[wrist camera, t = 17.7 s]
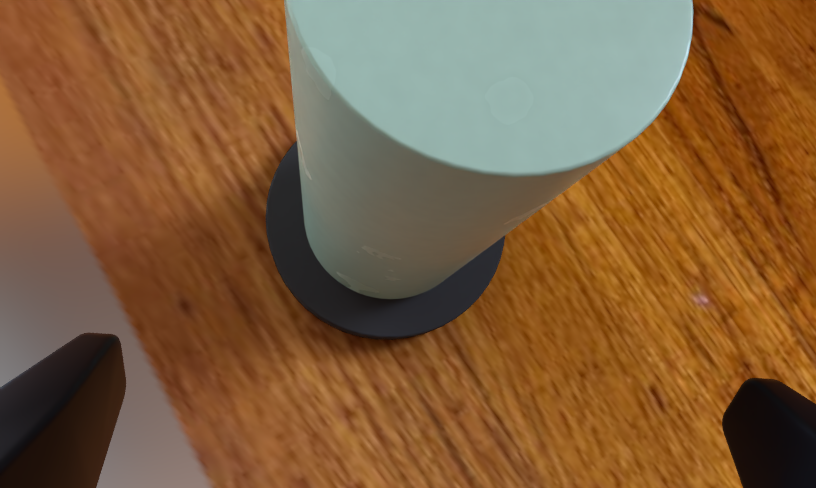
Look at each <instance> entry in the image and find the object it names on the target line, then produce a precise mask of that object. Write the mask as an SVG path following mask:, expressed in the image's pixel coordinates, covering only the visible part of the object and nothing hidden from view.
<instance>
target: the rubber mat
mask: <svg viewBox="0 0 816 488" xmlns="http://www.w3.org/2000/svg"><path fill="white" fill-rule="evenodd" d="M266 229H267V237H268V241H269V246H270V250H271V253H272V256H273V259H274V261H275V264H276V267H277V269H278V271H279V273H280V275H281V277H282V279H283V281H284V283H285V284H286V286H287V287H288V288H289V290H290V291H291V293H292V294H293V295H294V297H295V298H296V299H297V300H298V301H299V302H300V303H301V304H302V305H303V306H304V307H305V308H306V309H307V310H308V311H310V312H311V313H312V314H313V315H315V316H316V317H317V318H319V319H320V320H322V321H324V322H325V323H327V324H328V325H330V326H332V327H334V328H337V329H339V330H341V331H343V332H346V333H349V334H352V335H356V336H359V337H364V338H371V339H387V340H393V339H402V338H409V337H413V336H417V335H421V334H424V333H427V332H429V331H432V330H434V329H436V328H439V327H441V326H443V325H445V324H447V323H449V322H450V321H452V320H454V319H456V318H457V317H458V316H459V315H461V314H462V313H463V312H465V311H466V310H467V309H468V308H469V307H470V306H471V305H472V304H473V303H474V302H475V301H476V300H477V299H478V298H479V297H480V296H481V294H482V293H483V292H484V290H485V289H486V288H487V286H488V285H489V283H490V281H491V279H492V277H493V276H494V274H495V272H496V269H497V266H498V264H499V261H500V259H501V255H502V250H503V246H504V239H505V236H503V237H502V238H501V239H499V240H498V241H497V242H495V243H494V244H493V245H491V246H490V247H489V248H487V249H486V250H485V251H483V252H482V253H480V254H479V255H478V256H476V257H475V258H474V259H472V260H471V261H470V262H468V263H467V264H466V265H464V266H463V267H462V268H460V269H459V270H458V271H456V272H455V273H454V274H452V275H451V276H450V277H448V278H447V279H445V280H444V281H443V282H441V283H440V284H439V285H437V286H436V287H434V288H432V289H430V290H428V291H426V292H424V293H421V294H419V295H416V296H412V297H408V298H401V299H380V298H375V297H369V296H366V295H363V294H360V293H358V292H355V291H353V290H351V289H349V288H347V287H346V286H344V285H343V284H341V283H340V282H338V281H337V280H336V279H335V278H333V277H332V276H331V275H330V274H329V273H328V272H327V271H326V270H325V269H324V268H323V266H322V265H321V264H320V262H319V261H318V259H317V258H316V256H315V254H314V252H313V250H312V249H311V247H310V244H309V241H308V238H307V235H306V230H305V225H304V214H303V202H302V191H301V180H300V169H299V158H298V147H297V141H296V142H295V143H294V144H293V145H292V146H291V148H290V149H289V150H288V152H287V153H286V155H285V156H284V157H283V159H282V161H281V163H280V164H279V166H278V168H277V170H276V172H275V174H274V177H273V180H272V183H271V186H270V189H269V194H268V199H267V206H266Z"/></svg>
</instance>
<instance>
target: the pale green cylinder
mask: <svg viewBox="0 0 816 488" xmlns="http://www.w3.org/2000/svg"><path fill="white" fill-rule="evenodd" d="M284 3H285V14H286V25H287V36H288V47H289V59H290V70H291V81H292V92H293V103H294V114H295V125H296V136H297V147H298V158H299V169H300V180H301V191H302V202H303V214H304V225H305V230H306V235H307V238H308V241H309V244H310V247H311V249H312V250H313V252H314V254H315V256H316V258H317V259H318V261H319V262H320V264H321V265H322V266H323V268H324V269H325V270H326V271H327V272H328V273H329V274H330V275H331V276H332V277H333V278H335V279H336V280H337V281H338V282H340V283H341V284H343V285H344V286H346V287H347V288H349V289H351V290H353V291H355V292H358V293H360V294H363V295H366V296H369V297H375V298H380V299H401V298H408V297H412V296H416V295H419V294H421V293H424V292H426V291H428V290H430V289H432V288H434V287H436V286H437V285H439V284H440V283H441V282H443V281H444V280H445V279H447V278H448V277H450V276H451V275H452V274H454V273H455V272H456V271H458V270H459V269H460V268H462V267H463V266H464V265H466V264H467V263H468V262H470V261H471V260H472V259H474V258H475V257H476V256H478V255H479V254H480V253H482V252H483V251H485V250H486V249H487V248H489V247H490V246H491V245H493V244H494V243H495V242H497V241H498V240H499V239H501V238H502V237H503V236H505V235H506V234H507V233H509V232H510V231H511V230H513V229H514V228H515V227H517V226H518V225H519V224H521V223H522V222H524V221H525V220H526V219H528V218H529V217H530V216H532V215H533V214H534V213H536V212H537V211H538V210H540V209H541V208H542V207H544V206H545V205H546V204H548V203H549V202H550V201H552V200H553V199H554V198H556V197H557V196H559V195H560V194H561V193H563V192H564V191H565V190H567V189H568V188H569V187H571V186H572V185H573V184H575V183H576V182H577V181H579V180H580V179H581V178H583V177H584V176H585V175H587V174H588V173H589V172H591V171H592V170H593V169H595V168H596V167H598V166H599V165H600V164H602V163H603V162H604V161H606V160H607V159H608V158H610V157H611V156H612V155H614V154H615V153H616V152H618V151H619V150H620V149H622V148H623V147H624V146H626V145H627V144H628V143H630V142H631V141H633V140H634V139H635V138H637V137H638V136H639V135H640V134H641V133H642V132H643V131H644V130H645V129H646V128H647V127H648V126H649V125H650V124H651V123H652V122H653V121H654V120H655V119H656V117H657V116H658V115H659V113H660V112H661V111H662V109H663V108H664V107H665V105H666V104H667V103H668V101H669V100H670V98H671V96H672V94H673V92H674V90H675V88H676V87H677V85H678V83H679V81H680V78H681V75H682V72H683V69H684V67H685V64H686V61H687V58H688V54H689V48H690V43H691V38H692V28H693V3H692V0H284Z"/></svg>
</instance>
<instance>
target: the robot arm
mask: <svg viewBox="0 0 816 488" xmlns="http://www.w3.org/2000/svg"><path fill="white" fill-rule="evenodd" d="M125 389H126V377H125V370H124V363H123V356H122V349H121V343H120V341H119V338H118V337H117V336H115V335H113V334H99V333H84V334H81V335H79V336H78V337H76V338H75V339H73V340H72V341H70V342H69V343H67V344H65V345H64V346H62V347H61V348H60V349H58V350H56V351H55V352H53V353H52V354H50V355H49V356H47V357H46V358H44V359H43V360H41V361H40V362H38V363H37V364H35V365H34V366H32V367H31V368H29V369H28V370H26V371H25V372H23V373H22V374H20V375H19V376H17V377H16V378H14V379H13V380H11V381H10V382H8V383H7V384H5V385H4V386H2V387H0V488H96V486H97V483H98V480H99V476H100V473H101V470H102V467H103V464H104V460H105V457H106V454H107V451H108V447H109V444H110V441H111V438H112V435H113V431H114V428H115V425H116V422H117V418H118V415H119V412H120V409H121V405H122V402H123V399H124V395H125ZM722 426H723V431H724V435H725V437H726V440H727V443H728V446H729V449H730V452H731V455H732V457H733V460H734V463H735V466H736V469H737V472H738V474H739V477H740V480H741V483H742V486H743V488H816V404H815V403H813V402H812V401H810V400H808V399H807V398H805V397H804V396H802V395H801V394H799V393H798V392H796V391H794V390H793V389H791V388H790V387H788V386H787V385H785V384H783V383H782V382H780V381H777V380H774V379H762V378H750V379H748V380H746V381H745V382H744V383H743V384H742V385H741V387H740V389H739V390H738V392H737V394H736V395H735V397H734V398H733V400H732V402H731V403H730V405H729V406H728V408H727V410H726V411H725V413H724V415H723V419H722Z"/></svg>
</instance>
